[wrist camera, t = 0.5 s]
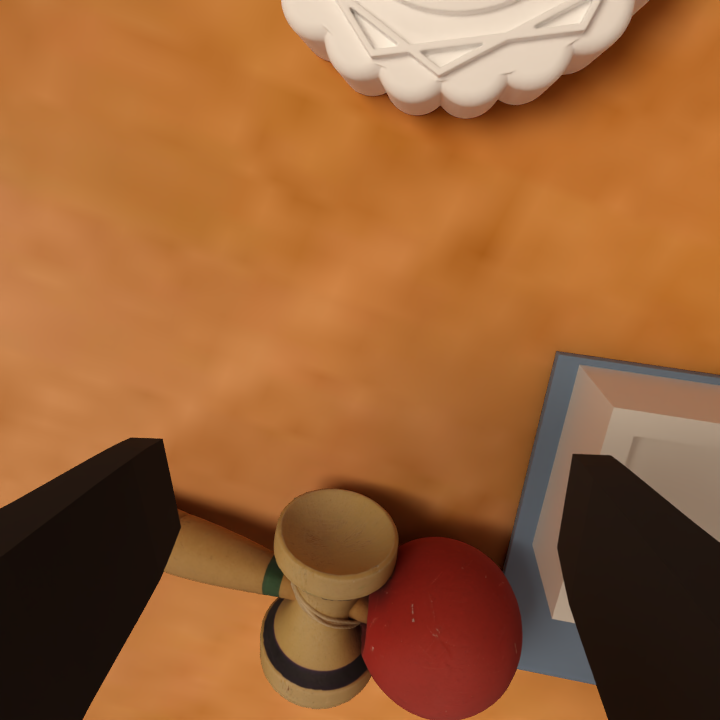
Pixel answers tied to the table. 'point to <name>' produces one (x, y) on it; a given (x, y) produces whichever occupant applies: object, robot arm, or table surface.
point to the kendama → (366, 606)
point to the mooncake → (458, 46)
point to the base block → (635, 453)
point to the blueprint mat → (540, 632)
